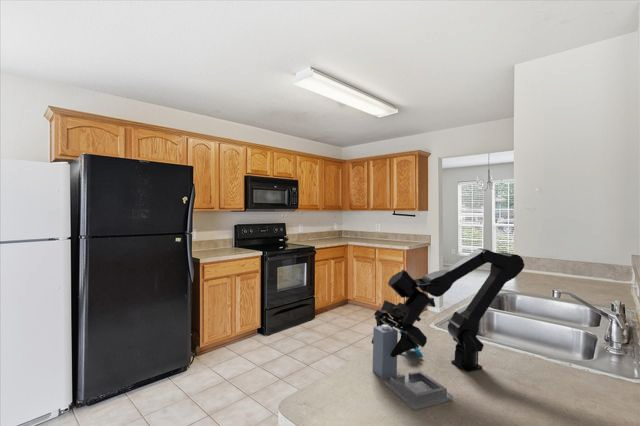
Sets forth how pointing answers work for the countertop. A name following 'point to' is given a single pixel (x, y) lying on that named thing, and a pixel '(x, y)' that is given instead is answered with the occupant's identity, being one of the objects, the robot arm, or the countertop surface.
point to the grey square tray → (418, 390)
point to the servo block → (384, 351)
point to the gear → (415, 349)
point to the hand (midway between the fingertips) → (381, 349)
